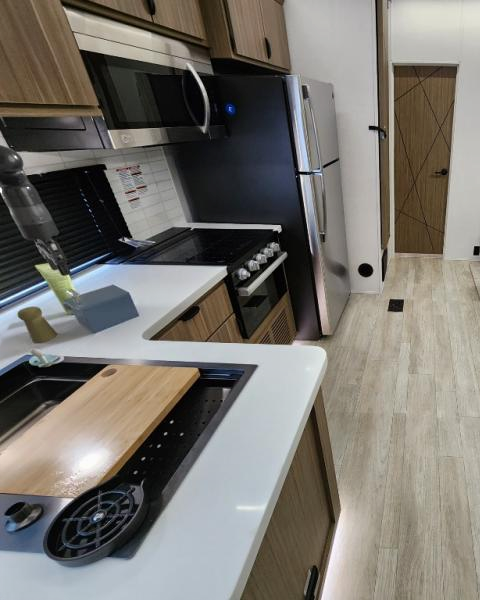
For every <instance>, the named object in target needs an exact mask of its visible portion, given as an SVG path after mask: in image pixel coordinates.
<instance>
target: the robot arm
mask: <svg viewBox="0 0 480 600" xmlns="http://www.w3.org/2000/svg"><path fill="white" fill-rule="evenodd" d="M28 178H29V177H28V176H27V174H26V173H25V170H24V160H23V158H22V156H21V155H20V154H19V153H18V152H17V151H15V150H14V149H12V148H10V147H8V146H5V145H2V144H0V195H1V197H2V199H3V201H4V203H5V204H6V206H7V208H8V210H9V214H10V216H11V218H12V219H13V221H14V223H15V224H16V226H17V228H18V231H20V233H21V235H22V237H23V239H25V240H28V241H34V244H35V246H36V247H37V249H38V251H39V253H40V255H41V256H42V257H43V259H45V260H46V262H47V263H49V265H50V267H51V269H52V270H57V269H58V270H59V272H60V274H61V275H62V276H66V275H69V276H70V275H72V271H71V270H70V268H69V265H68V264H67V263H68V258H67V257H66V255H65V253H64V251H63V249H62V248H61V246H60V244H59V243H58V241H55V240H54V239H53V237H56V236H58V235H59V233H60V231H59V230H58V227H57V226H56V223H55V222H54V220H53V217H52V215H51V214H50V212H49V210H48V208H47V207H46V205H45V204H44V203H43V201H42V199H41V196H40V194H39V192H38V191H37V189H36V188H35V186H34V185H33V184H32V183H31V182H30V180H29V179H28Z"/></svg>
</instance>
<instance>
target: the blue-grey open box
mask: <svg viewBox="0 0 480 600" xmlns="http://www.w3.org/2000/svg"><path fill="white" fill-rule="evenodd" d="M70 308H71V309H72V311H73V313H74V314H73V315H74V317H75V318H76V320H77V322H78V324H79V325H81V327H84V328H86V329H87V330H88V331H90V332H91V333H92V334H94V335H95V334H97V333H100V332H102V331H105V330H108V329H110V328H112V327H115V326H118V325H121V324H122V323H126V322H128V321H130V320H132V319H135V318H137V317H140V313H139V311H138V309H137V307H136V305H135V302H134V299H133V298H132V296H131V293H130V294H129V295H126V296H123V297H120V298H117V299H115V300H112V301H109V302H106V303H103V304H100V305H97V306H94V307H91V308H88V309H85V310H83V311H80V312H78V311H77V310H75V309H74V308H72V307H71V306H70Z"/></svg>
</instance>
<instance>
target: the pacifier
mask: <svg viewBox="0 0 480 600" xmlns="http://www.w3.org/2000/svg"><path fill="white" fill-rule="evenodd" d="M30 354H31V355H32V356H31V357H30V358H29V360H28V363H29V364H30V365H31V366H34V367H38V368H47V367H50V366H51V367H52V365H56V364H59V363H61V362H63V361H64V360H65V357H64V355H61V354H50V353H43V352H42V351H41V350H39V349H38V348H35V347H32V348H31V349H30Z"/></svg>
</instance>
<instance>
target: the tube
mask: <svg viewBox="0 0 480 600" xmlns="http://www.w3.org/2000/svg"><path fill="white" fill-rule="evenodd" d="M34 267H35V268H36V270H37V271H38V272H39V273H40V275H41V277H43V279H44V280H45V282H46V283H47V285H48V286H49V288H50V289H51V291H52V292H53V294H54V295H55V297H56V299H57V301H58V303H59V304H60V305H61V307H62V309H63V310H64V312H65V314H66V315H74V313H73V311H72V309H71V308H70V306H69V305H67V304H66V303H64V301H63V300H65V299H68V298H72V297H71V296H70V295H69V294H67V293H66V291H67V290H68V289H72V290H74V291H76V289H75V286H74V283H73V281H72V278H71V276H70V275H66V276H62V275H61V274H60V272H59V270H58V269H57V270H52V269H51V267H50V265H49V263H48V262H47V263H41V264H36V265H34Z"/></svg>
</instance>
